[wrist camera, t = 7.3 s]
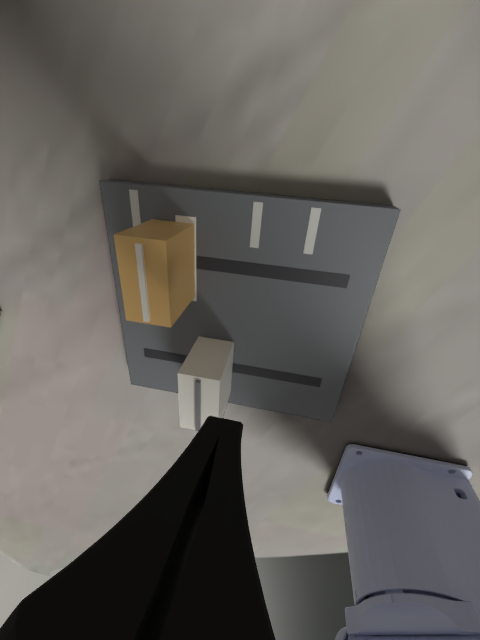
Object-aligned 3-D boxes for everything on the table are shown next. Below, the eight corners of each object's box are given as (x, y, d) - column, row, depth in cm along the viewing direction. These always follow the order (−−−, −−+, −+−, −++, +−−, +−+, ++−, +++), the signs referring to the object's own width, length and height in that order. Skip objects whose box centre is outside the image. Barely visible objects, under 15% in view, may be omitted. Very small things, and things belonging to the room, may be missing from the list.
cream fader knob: (234, 341, 20) (219, 383, 16) (230, 391, 22) (216, 437, 18) (198, 336, 20) (176, 375, 16) (198, 385, 22) (179, 429, 19)
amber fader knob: (194, 223, 16) (164, 241, 13) (195, 296, 18) (169, 329, 15) (152, 219, 17) (110, 235, 13) (158, 291, 19) (123, 322, 15)
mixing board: (393, 206, 15) (401, 209, 14) (330, 410, 23) (331, 422, 21) (111, 179, 17) (98, 180, 16) (138, 374, 25) (130, 384, 23)
